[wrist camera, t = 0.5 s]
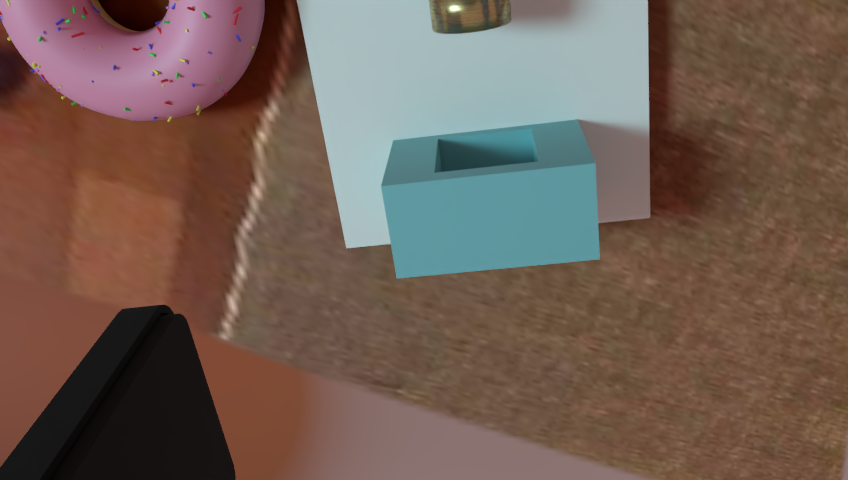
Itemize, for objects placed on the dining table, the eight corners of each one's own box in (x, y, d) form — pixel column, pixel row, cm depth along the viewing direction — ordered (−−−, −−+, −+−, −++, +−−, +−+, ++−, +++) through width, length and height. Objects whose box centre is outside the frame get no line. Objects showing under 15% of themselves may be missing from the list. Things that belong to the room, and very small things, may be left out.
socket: (393, 140, 34) (380, 186, 29) (577, 119, 33) (595, 163, 29) (406, 222, 36) (396, 278, 31) (582, 204, 35) (599, 259, 30)
